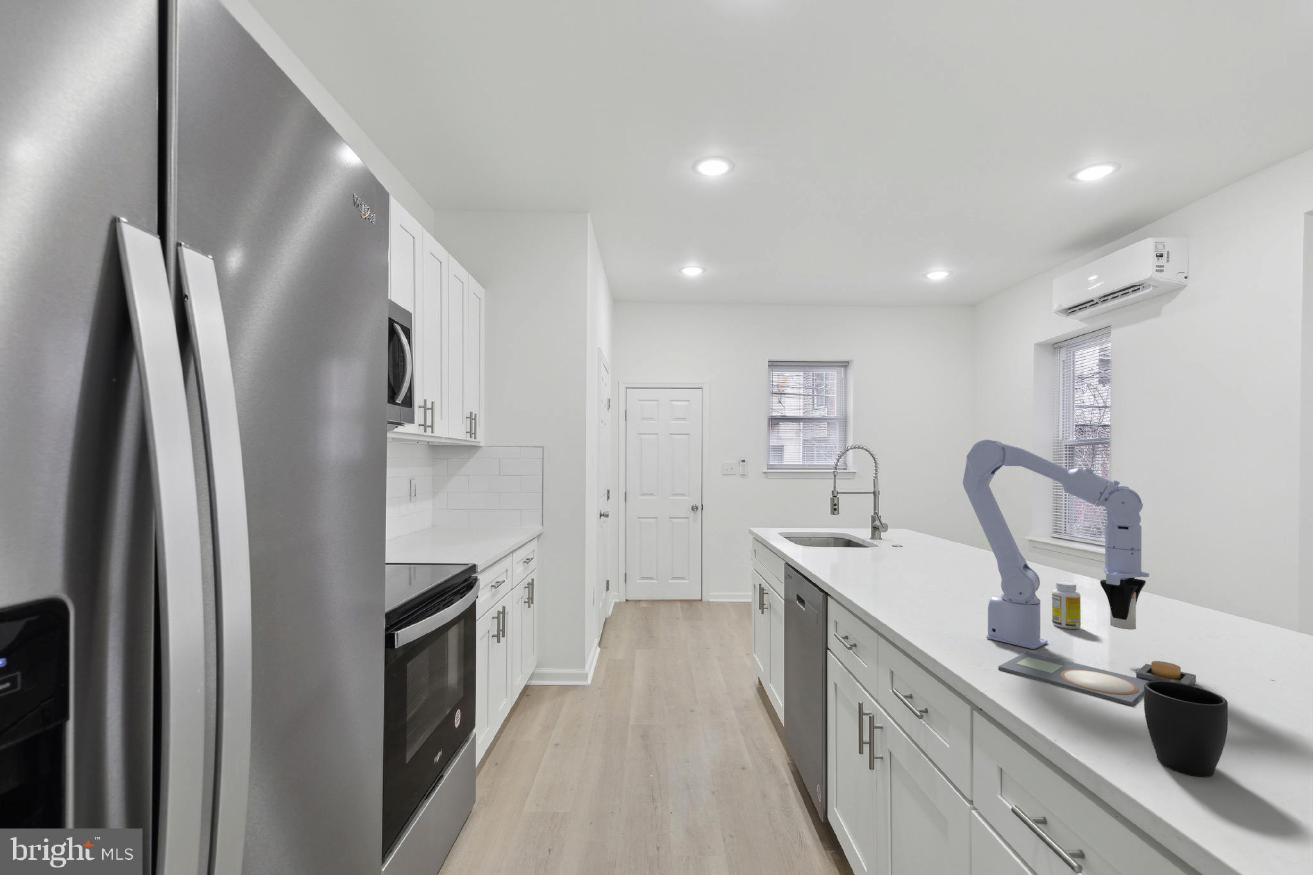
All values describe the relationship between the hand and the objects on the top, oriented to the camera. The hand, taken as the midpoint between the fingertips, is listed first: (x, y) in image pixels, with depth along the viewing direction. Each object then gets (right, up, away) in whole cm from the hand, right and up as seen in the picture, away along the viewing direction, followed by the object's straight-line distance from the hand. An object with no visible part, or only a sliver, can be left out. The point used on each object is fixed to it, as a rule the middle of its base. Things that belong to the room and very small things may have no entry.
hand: (1123, 616), depth 119 cm
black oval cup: (-23, -8, -39) cm, 46 cm away
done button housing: (-1, -8, -11) cm, 14 cm away
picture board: (-17, -8, -10) cm, 21 cm away
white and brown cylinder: (0, -2, 0) cm, 2 cm away
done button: (-1, -7, -11) cm, 13 cm away
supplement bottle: (+4, -9, +23) cm, 25 cm away
